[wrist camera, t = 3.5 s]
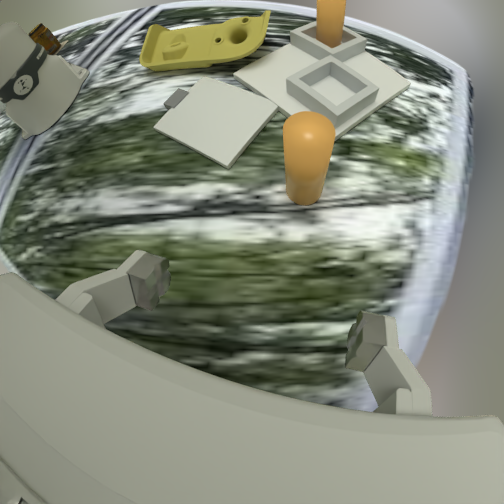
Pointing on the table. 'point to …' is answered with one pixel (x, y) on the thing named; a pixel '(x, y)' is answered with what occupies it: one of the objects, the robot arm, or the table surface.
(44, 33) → the condiment
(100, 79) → the table surface
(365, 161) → the table surface
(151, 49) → the plastic component
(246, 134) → the lid
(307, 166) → the pin
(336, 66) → the housing
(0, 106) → the tea box
